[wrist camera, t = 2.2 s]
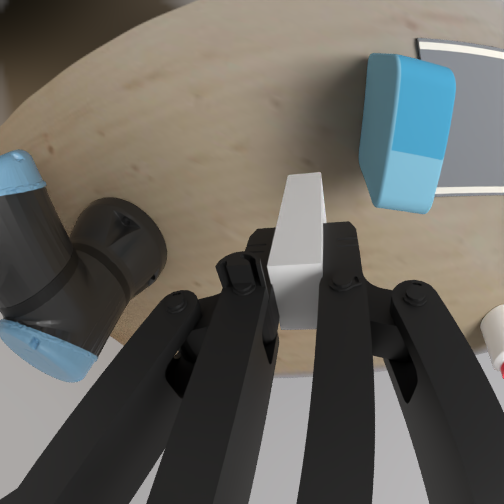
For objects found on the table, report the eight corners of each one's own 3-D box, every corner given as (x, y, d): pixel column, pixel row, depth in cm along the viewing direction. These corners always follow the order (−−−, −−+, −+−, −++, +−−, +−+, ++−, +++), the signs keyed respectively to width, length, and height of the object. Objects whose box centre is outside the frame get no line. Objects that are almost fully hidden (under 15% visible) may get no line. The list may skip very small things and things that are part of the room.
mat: (423, 195, 32) (425, 197, 32) (416, 37, 22) (418, 37, 22) (540, 193, 27) (542, 195, 27) (548, 60, 17) (550, 61, 17)
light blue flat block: (396, 166, 31) (428, 222, 22) (357, 160, 32) (374, 214, 22) (410, 61, 24) (459, 70, 14) (367, 52, 24) (398, 53, 15)
